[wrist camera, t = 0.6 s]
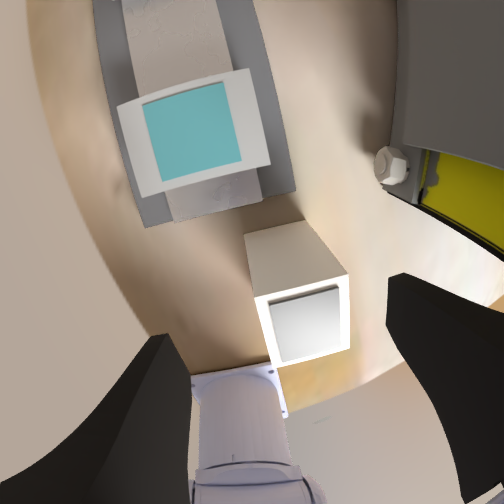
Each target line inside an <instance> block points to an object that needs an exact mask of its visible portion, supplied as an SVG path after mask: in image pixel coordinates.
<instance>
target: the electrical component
mask: <svg viewBox="0 0 504 504" xmlns="http://www.w3.org/2000/svg"><path fill="white" fill-rule="evenodd" d="M397 20H398V55H397V78H396V93H395V104H394V114H393V123H392V132H391V139H390V146H385V147H383V148H381V149H380V150H379V151H378V152H377V154H376V158H375V161H374V172H375V176H376V178H377V179H378V180H379V182H380V183H383V188H382V189H384V190H386V191H388V192H387V193H389V194H391V195H393V196H395V197H397V198H399V199H400V200H402V201H404V202H406V203H408V204H410V205H412V206H414V207H416V208H418V209H419V210H421V211H423V212H425V213H427V214H428V215H430V216H432V217H434V218H436V219H437V220H439V221H441V222H442V223H444V224H446V225H448V226H449V227H451V228H453V229H454V230H456V231H457V232H459V233H461V234H462V235H464V236H466V237H467V238H469V239H470V240H472V241H473V242H475V243H476V244H478V245H480V246H481V247H483V248H484V249H486V250H487V251H488V252H490V253H491V254H493V255H494V256H496V257H497V258H499V259H500V260H501V261H503V262H504V0H397Z"/></svg>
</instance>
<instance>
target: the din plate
mask: <svg viewBox="0 0 504 504" xmlns="http://www.w3.org/2000/svg"><path fill="white" fill-rule="evenodd" d="M216 4H217V8H218V12H219V15H220V19H221V23H222V27H223V31H224V35H225V39H226V43H227V47H228V51H229V55H230V59H231V63H232V67H233V71H236V70H241V69H246V68H249V70H250V74H251V78H252V82H253V86H254V91H255V95H256V99H257V104H258V108H259V112H260V117H261V121H262V126H263V130H264V135H265V139H266V144H267V149H268V153H269V158H270V163H271V165H267V166H262V167H257V168H256V170H257V175H258V180H259V184H260V189H261V193H262V198H266V197H271V196H275V195H280V194H284V193H289V192H294V191H296V187H295V181H294V176H293V170H292V165H291V160H290V155H289V149H288V144H287V139H286V134H285V130H284V125H283V120H282V115H281V111H280V106H279V102H278V97H277V93H276V89H275V84H274V80H273V76H272V72H271V68H270V64H269V60H268V56H267V52H266V48H265V44H264V40H263V37H262V33H261V29H260V26H259V22H258V19H257V15H256V12H255V8H254V5H253V1H252V0H216ZM93 11H94V20H95V29H96V36H97V43H98V50H99V56H100V62H101V68H102V73H103V78H104V84H105V88H106V93H107V98H108V103H109V107H110V111H111V116H112V120H113V124H114V128H115V132H116V136H117V140H118V143H119V147H120V151H121V154H122V158H123V162H124V165H125V168H126V172H127V175H128V178H129V182H130V185H131V188H132V191H133V194H134V198H135V201H136V204H137V207H138V210H139V213H140V216H141V218H142V221H143V224H144V227H145V228H148V227H152V226H155V225H159V224H162V223H166V222H170V221H173V217H172V214H171V211H170V207H169V204H168V201H167V198H166V194H165V191H164V192H160V193H157V194H154V195H151V196H147V197H144V198H142V197H141V194H140V191H139V188H138V184H137V181H136V178H135V174H134V171H133V168H132V164H131V161H130V157H129V154H128V150H127V146H126V143H125V139H124V135H123V131H122V127H121V123H120V119H119V115H118V111H117V106H119V105H122V104H124V103H127V102H129V101H132V100H134V99H137V98H140V97H139V93H138V89H137V84H136V79H135V75H134V70H133V65H132V60H131V55H130V50H129V44H128V39H127V33H126V27H125V21H124V15H123V8H122V1H121V0H115V1H112V0H93Z"/></svg>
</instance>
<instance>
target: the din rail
mask: <svg viewBox="0 0 504 504" xmlns="http://www.w3.org/2000/svg"><path fill="white" fill-rule="evenodd" d="M121 1H122V8H123V15H124V21H125V27H126V33H127V39H128V44H129V50H130V55H131V60H132V65H133V70H134V75H135V79H136V84H137V89H138V93H139V97H142V96H145V95H148V94H151V93H154V92H157V91H160V90H163V89H166V88H169V87H172V86H176V85H179V84H182V83H186V82H189V81H193V80H197V79H201V78H205V77H209V76H213V75H217V74H221V73H226V72H231V71H233V67H232V63H231V59H230V55H229V51H228V47H227V43H226V39H225V35H224V31H223V27H222V23H221V19H220V15H219V12H218V8H217V4H216V0H121ZM165 194H166V198H167V201H168V204H169V207H170V211H171V214H172V217H173V220H174V223H177V222H181V221H184V220H188V219H192V218H196V217H200V216H204V215H208V214H212V213H216V212H220V211H224V210H228V209H232V208H236V207H240V206H244V205H249V204H253V203H257V202H262V201H263V198H262V193H261V189H260V184H259V180H258V175H257V170H256V168H253V169H248V170H244V171H240V172H235V173H231V174H227V175H223V176H219V177H215V178H211V179H207V180H203V181H199V182H196V183H192V184H188V185H185V186H181V187H178V188H174V189H171V190H167V191H165Z"/></svg>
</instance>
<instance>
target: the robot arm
mask: <svg viewBox="0 0 504 504" xmlns="http://www.w3.org/2000/svg"><path fill="white" fill-rule="evenodd" d="M386 327H387V329H388V331H389V333H390V335H391V337H392V339H393V341H394V343H395V345H396V347H397V349H398V350H399V352H400V353H401V355H402V356H403V358H404V359H405V361H406V362H407V364H408V365H409V367H410V368H411V370H412V371H413V373H414V374H415V376H416V377H417V379H418V380H419V382H420V384H421V385H422V387H423V388H424V390H425V391H426V393H427V394H428V396H429V398H430V400H431V402H432V403H433V405H434V407H435V410H436V412H437V414H438V417H439V419H440V421H441V423H442V426H443V428H444V431H445V434H446V437H447V439H448V442H449V445H450V448H451V452H452V455H453V458H454V462H455V465H456V470H457V474H458V480H459V484H460V491H461V497H462V498H463V501H464V503H465V504H467V503H469V502H471V501H473V500H474V499H476V498H478V497H479V496H481V495H483V494H484V493H486V492H488V491H489V490H491V489H492V488H494V487H495V486H497V485H498V484H499V483H500V482H501V484H502V485H503V488H504V313H502V312H498V311H496V310H493V309H490V308H487V307H485V306H482V305H479V304H477V303H474V302H472V301H469V300H467V299H465V298H462V297H460V296H458V295H455V294H453V293H451V292H449V291H446V290H444V289H442V288H440V287H437V286H435V285H433V284H431V283H428V282H426V281H424V280H422V279H419V278H417V277H414V276H412V275H409V274H406V273H401V274H398V275H395V276H392V277H389V278H388V299H387V314H386ZM192 394H193V396H194V397H195V399H196V401H197V402H198V404H199V405H200V424H199V469H197V470H196V482H195V480H188V470H187V463H188V444H189V431H190V418H191V406H192ZM286 417H288V411H287V407H286V403H285V399H284V395H283V391H282V387H281V383H280V379H279V375H278V371H277V368H273V367H272V363H271V361H269V362H264V363H260V364H255V365H250V366H245V367H240V368H235V369H229V370H223V371H218V372H212V373H205V374H199V375H192V376H191V374H190V373H189V371H188V369H187V367H186V366H185V364H184V362H183V360H182V358H181V357H180V355H179V353H178V351H177V349H176V348H175V346H174V344H173V342H172V340H171V338H170V336H169V334H168V333H166V334H160V335H155V336H151V337H150V338H149V339H148V341H147V342H146V343H145V344H144V346H143V347H142V348H141V350H140V351H139V352H138V354H137V355H136V356H135V358H134V359H133V360H132V362H131V363H130V364H129V366H128V367H127V368H126V370H125V371H124V373H123V374H122V375H121V377H120V378H119V379H118V381H117V382H116V383H115V385H114V386H113V387H112V388H111V390H110V391H109V392H108V393H107V395H106V396H105V397H104V398H103V400H102V401H101V402H100V404H99V405H98V406H97V407H96V408H95V409H94V410H93V412H92V413H91V414H90V415H89V416H88V417H87V418H86V419H85V421H83V422H82V423H81V425H80V426H79V427H78V428H77V429H76V430H75V431H74V432H73V433H72V434H70V435H69V436H68V437H67V438H66V439H65V440H64V441H63V442H61V443H60V444H59V445H58V446H57V447H56V448H54V449H53V450H52V451H51V452H50V453H48V454H47V455H46V456H44V457H43V458H42V459H40V460H39V461H37V462H36V463H34V464H33V465H32V466H30V467H28V468H27V469H25V470H24V471H22V472H20V473H18V474H16V475H14V476H12V477H11V478H9V479H7V480H5V481H2V482H1V483H0V504H328V503H327V499H326V496H325V493H324V491H323V489H322V487H321V485H320V484H319V483H318V482H317V481H316V480H314V479H313V478H312V477H311V476H309V475H302V473H301V469H300V466H293V464H292V460H291V454H290V449H289V444H288V440H287V434H286V430H285V425H284V419H283V418H286ZM486 504H504V490H502V491H501V492H500V493H499V494H497V495H496V496H495V497H494V498H492V499H491V500H490V501H489V502H487V503H486Z"/></svg>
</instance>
